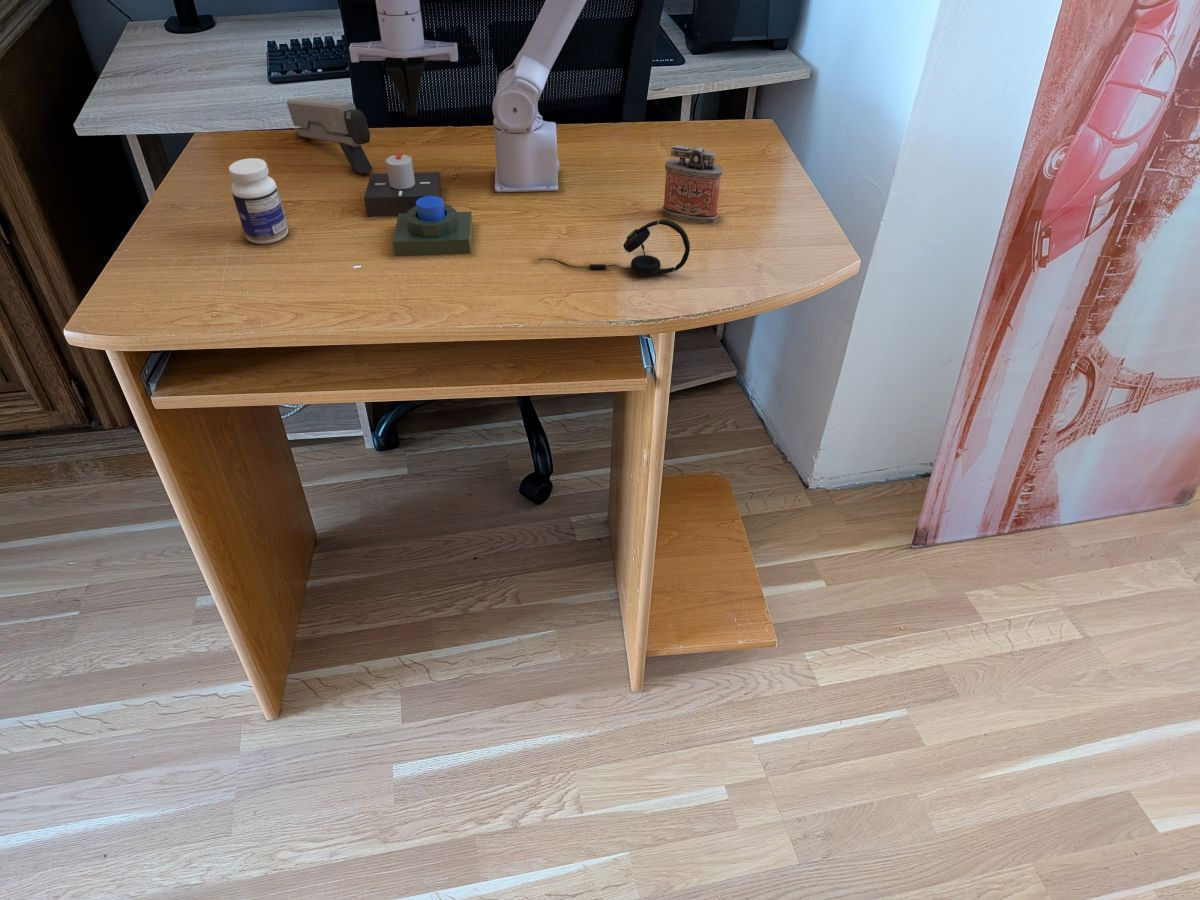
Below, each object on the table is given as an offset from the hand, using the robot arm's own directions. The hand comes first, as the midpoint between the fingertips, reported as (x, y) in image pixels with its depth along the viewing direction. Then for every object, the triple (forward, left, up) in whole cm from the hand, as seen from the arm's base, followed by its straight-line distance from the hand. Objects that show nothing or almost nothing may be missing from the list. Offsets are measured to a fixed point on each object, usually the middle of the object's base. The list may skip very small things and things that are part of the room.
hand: (412, 112), depth 121 cm
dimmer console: (+2, +7, -10) cm, 13 cm away
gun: (+15, -11, -11) cm, 21 cm away
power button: (-3, +19, -7) cm, 20 cm away
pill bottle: (+20, +16, -11) cm, 28 cm away
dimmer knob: (+2, +7, -7) cm, 11 cm away
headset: (-27, +26, -11) cm, 39 cm away
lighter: (-39, +14, -11) cm, 43 cm away
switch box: (-3, +19, -10) cm, 22 cm away
